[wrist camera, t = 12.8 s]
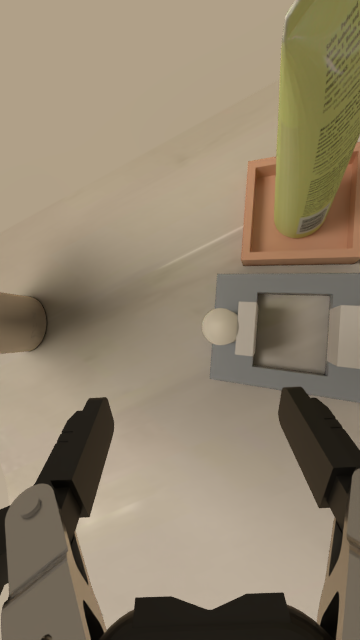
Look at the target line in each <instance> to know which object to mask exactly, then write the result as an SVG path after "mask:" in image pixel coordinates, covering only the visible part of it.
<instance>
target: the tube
mask: <svg viewBox="0 0 360 640" xmlns="http://www.w3.org/2000/svg"><path fill="white" fill-rule="evenodd" d="M359 135H360V0H296V1H295V2H294V3H293V5H292V6H291V8H290V9H289V11H288V12H287V14H286V16H285V21H284V29H283V38H282V48H281V66H280V88H279V113H278V134H277V154H276V177H275V203H274V223H275V226H276V228H277V230H278V231H279V232H280V233H281V234H283V235H284V236H287V237H290V238H302V237H306V236H308V235H311V234H312V233H314V232H315V231H317V230H318V229H319V228H320V227H321V225H322V224H323V222H324V221H325V219H326V216H327V214H328V212H329V210H330V207H331V205H332V202H333V200H334V198H335V195H336V193H337V191H338V188H339V186H340V183H341V181H342V178H343V176H344V173H345V171H346V168H347V166H348V163H349V161H350V158H351V156H352V153H353V151H354V148H355V145H356V143H357V140H358V138H359Z"/></svg>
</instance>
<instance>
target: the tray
mask: <svg viewBox="0 0 360 640" xmlns="http://www.w3.org/2000/svg"><path fill="white" fill-rule="evenodd" d="M275 177H276V157H271V158H265V159H260V160H254V161H248V172H247V186H246V200H245V214H244V227H243V241H242V255H241V261H242V263H243V266H270V265H326V264H354V263H355V262H357V261H358V260H359V259H360V142H358V143H356V145H355V148H354V151H353V153H352V156H351V158H350V161H349V163H348V166H347V168H346V171H345V173H344V176H343V178H342V181H341V183H340V186H339V188H338V191H337V193H336V195H335V198H334V200H333V202H332V205H331V207H330V210H329V212H328V214H327V216H326V219H325V221H324V222H323V224H322V225H321V227H320V228H319V229H318V230H317V231H315V232H314V233H312V234H311V235H308V236H306V237H302V238H290V237H287V236H284V235H283V234H281V233H280V232H279V231H278V230H277V228H276V226H275V223H274V203H275Z"/></svg>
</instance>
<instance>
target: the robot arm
mask: <svg viewBox="0 0 360 640" xmlns="http://www.w3.org/2000/svg"><path fill="white" fill-rule="evenodd" d="M45 330H46V315H45V311H44V308H43V307H42V305H41V303H40V302H39V301H38V300H36V299H35V298H33V297H28V296H21V295H14V294H7V293H1V292H0V354H4V353H15V352H26V351H31V350H33V349H35V348H36V347H37V346H38V345H39V344H40V343H41V341H42V339H43V337H44V334H45ZM278 415H279V421H280V425H281V427H282V429H283V431H284V434H285V436H286V438H287V440H288V442H289V444H290V446H291V449H292V451H293V453H294V455H295V457H296V459H297V462H298V464H299V466H300V468H301V470H302V472H303V475H304V477H305V479H306V481H307V483H308V485H309V487H310V490H311V492H312V494H313V496H314V498H315V500H316V503H317V505H318V507H319V508H331V510H332V512H333V514H334V516H335V518H334V521H333V528H332V535H331V543H330V550H329V557H328V564H327V571H326V577H325V583H324V587H323V590H322V594H321V599H320V603H319V609H318V615H317V622H315V621H314V620H313V619H312V618H310V617H309V616H307V615H306V614H304V613H303V612H301V611H299V610H297V609H296V608H294V607H292V606H289V605H287V604H286V600H285V597H284V593H257V594H245V595H243V596H241V597H239V598H237V599H234V600H232V601H230V602H228V603H226V604H224V605H222V606H219V607H217V608H215V609H213V610H207V609H204V608H201V607H198V606H196V605H193V604H190V603H187V602H185V601H182V600H179V599H177V598H174V597H143V598H135V607H134V610H132V611H130V612H128V613H127V614H125V615H124V616H122V617H121V618H119V619H118V620H117V621H116V622H115V623H114V624H113V625H111V626H110V627H109V629H108V630H106V626H105V623H104V620H103V616H102V613H101V610H100V607H99V605H98V602H97V599H96V597H95V594H94V592H93V589H92V586H91V583H90V579H89V576H88V572H87V569H86V565H85V562H84V558H83V555H82V552H81V548H80V545H79V541H78V538H77V534H76V531H75V529H76V526H77V523H78V520H79V518H81V517H90V513H91V510H92V506H93V503H94V499H95V496H96V492H97V489H98V485H99V482H100V478H101V475H102V471H103V468H104V464H105V461H106V457H107V454H108V450H109V447H110V443H111V440H112V436H113V432H114V420H113V416H112V413H111V409H110V406H109V402H108V399H107V398H106V397H102V398H89V399H88V401H87V403H86V405H85V407H84V409H83V411H76V413H75V414H74V415H73V416H72V417H71V418H70V419H69V420H68V421H67V423H66V425H65V427H64V429H63V431H62V434H60V436H59V438H58V440H57V444H55V446H54V448H53V450H52V452H51V454H50V456H49V458H48V460H47V462H46V463H45V465H44V467H43V469H42V471H41V473H40V475H39V477H38V479H37V481H36V483H35V484H34V486H32V487H30V488H28V489H26V490H25V491H24V492H22V493H21V494H20V495H19V496H18V497H17V498H16V499H15V500H14V502H13V503H12V504H11V505H10V506H8V507H5V508H3V509H1V510H0V594H1V592H2V590H3V587H4V585H5V584H7V583H9V597H8V600H7V601H6V602H5V603H4V605H3V607H2V613H1V632H2V640H360V450H359V449H358V448H357V446H356V445H355V443H354V442H353V441H352V439H351V438H350V437H349V435H348V434H347V433H346V431H345V430H344V429H342V426H341V424H340V423H339V422H338V420H336V419H335V416H334V415H333V414H332V412H331V411H330V410H329V408H328V407H327V406H326V405H324V404H323V403H322V402H321V401H319V400H318V399H317V398H310V397H309V396H308V394H307V393H306V392H305V390H304V389H303V388H302V387H300V386H299V387H284V388H282V392H281V398H280V405H279V411H278Z"/></svg>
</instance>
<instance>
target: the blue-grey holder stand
mask: <svg viewBox="0 0 360 640" xmlns="http://www.w3.org/2000/svg"><path fill="white" fill-rule="evenodd" d="M258 294H282V295H324V296H330V308H329V323H328V339H327V354H326V369H325V374H318V373H310V372H302V371H294V370H287V369H279V368H271V367H263V366H256V365H253V356H254V354H255V347H256V332H257V318H258V304H257V300H258ZM202 331H203V334H204V336H205V337H206V339H207V340H208V341H209V342H211V343H212V354H211V367H210V379H214V380H220V381H226V382H233V383H239V384H245V385H252V386H258V387H264V388H270V389H277V390H282V388H284V387H299V386H300V387H302V388H303V389H304V390H305V392H306V393H307V394H308V395H314V396H320V397H327V398H333V399H339V400H345V401H352V402H358V403H360V273H313V274H217V287H216V300H215V309H213V310H211V311H210V312H209V313H207V314H206V316H205V317H204V319H203V322H202Z"/></svg>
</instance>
